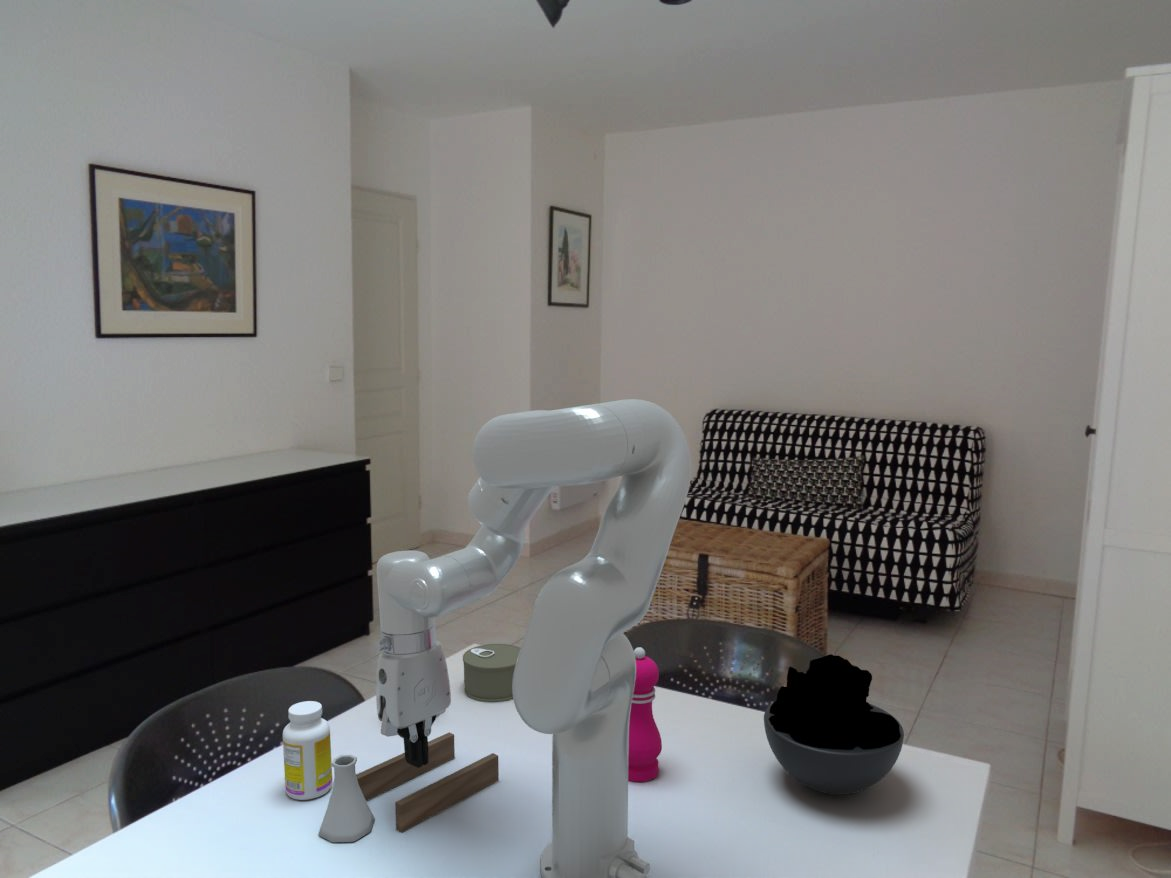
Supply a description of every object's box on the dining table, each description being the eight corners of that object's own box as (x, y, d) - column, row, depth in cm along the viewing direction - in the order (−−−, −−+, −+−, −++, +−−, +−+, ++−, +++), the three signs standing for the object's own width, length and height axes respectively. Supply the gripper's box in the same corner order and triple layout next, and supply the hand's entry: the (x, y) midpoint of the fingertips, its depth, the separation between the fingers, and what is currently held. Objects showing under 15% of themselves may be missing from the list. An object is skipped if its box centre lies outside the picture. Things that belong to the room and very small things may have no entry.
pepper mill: (606, 776, 130) (607, 651, 128) (626, 756, 137) (627, 636, 134) (650, 788, 127) (651, 660, 124) (668, 766, 133) (670, 644, 131)
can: (500, 709, 154) (499, 672, 153) (449, 693, 160) (449, 658, 159) (539, 685, 164) (539, 651, 163) (490, 672, 170) (490, 639, 169)
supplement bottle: (332, 775, 131) (328, 695, 129) (333, 797, 124) (330, 714, 123) (285, 782, 129) (282, 701, 127) (284, 805, 122) (280, 720, 121)
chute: (498, 780, 129) (498, 755, 129) (401, 832, 116) (400, 805, 115) (449, 755, 137) (449, 732, 136) (353, 802, 123) (352, 776, 123)
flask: (356, 848, 112) (353, 777, 111) (308, 839, 114) (305, 769, 113) (384, 818, 119) (381, 751, 118) (338, 810, 121) (335, 743, 120)
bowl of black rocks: (895, 761, 135) (901, 647, 133) (906, 833, 116) (913, 701, 113) (766, 745, 140) (769, 635, 138) (757, 810, 121) (760, 684, 119)
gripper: (380, 660, 112) (389, 792, 114) (466, 629, 124) (474, 750, 125) (348, 649, 117) (357, 776, 119) (433, 620, 129) (441, 737, 130)
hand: (417, 763), depth 122 cm, fingers closed
